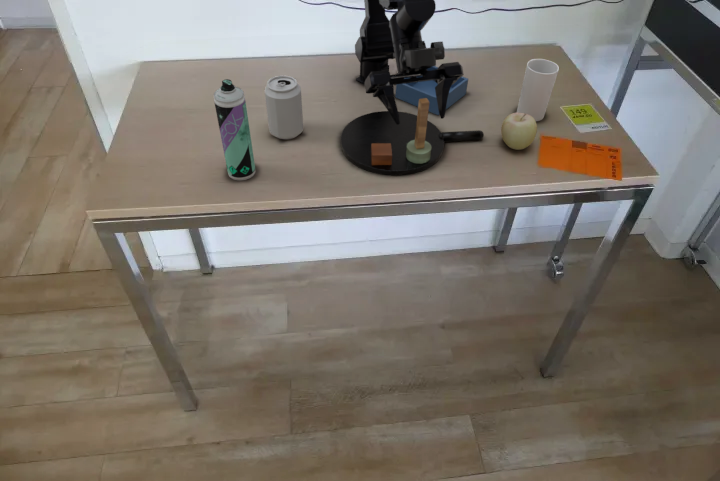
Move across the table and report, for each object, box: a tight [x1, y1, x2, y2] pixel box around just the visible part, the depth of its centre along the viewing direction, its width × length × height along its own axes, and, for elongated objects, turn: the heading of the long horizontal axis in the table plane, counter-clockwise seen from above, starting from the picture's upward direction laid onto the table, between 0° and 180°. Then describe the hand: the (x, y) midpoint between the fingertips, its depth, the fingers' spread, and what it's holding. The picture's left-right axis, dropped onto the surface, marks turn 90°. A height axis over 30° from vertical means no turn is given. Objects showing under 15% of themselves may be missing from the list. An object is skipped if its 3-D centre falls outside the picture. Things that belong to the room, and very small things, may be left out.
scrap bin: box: [394, 65, 469, 116], centre depth 133 cm, size 12×12×4 cm
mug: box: [516, 58, 560, 122], centre depth 126 cm, size 10×7×12 cm, turn 7°
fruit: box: [500, 112, 538, 151], centre depth 118 cm, size 8×7×8 cm
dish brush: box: [406, 98, 432, 164], centre depth 111 cm, size 5×5×13 cm
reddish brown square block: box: [371, 143, 392, 165], centre depth 113 cm, size 4×4×2 cm
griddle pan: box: [340, 110, 485, 176], centre depth 120 cm, size 31×22×2 cm
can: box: [264, 74, 304, 140], centre depth 119 cm, size 8×8×12 cm
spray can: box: [213, 78, 256, 181], centre depth 105 cm, size 6×6×20 cm
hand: (420, 121), depth 110 cm, fingers open, 9 cm apart
